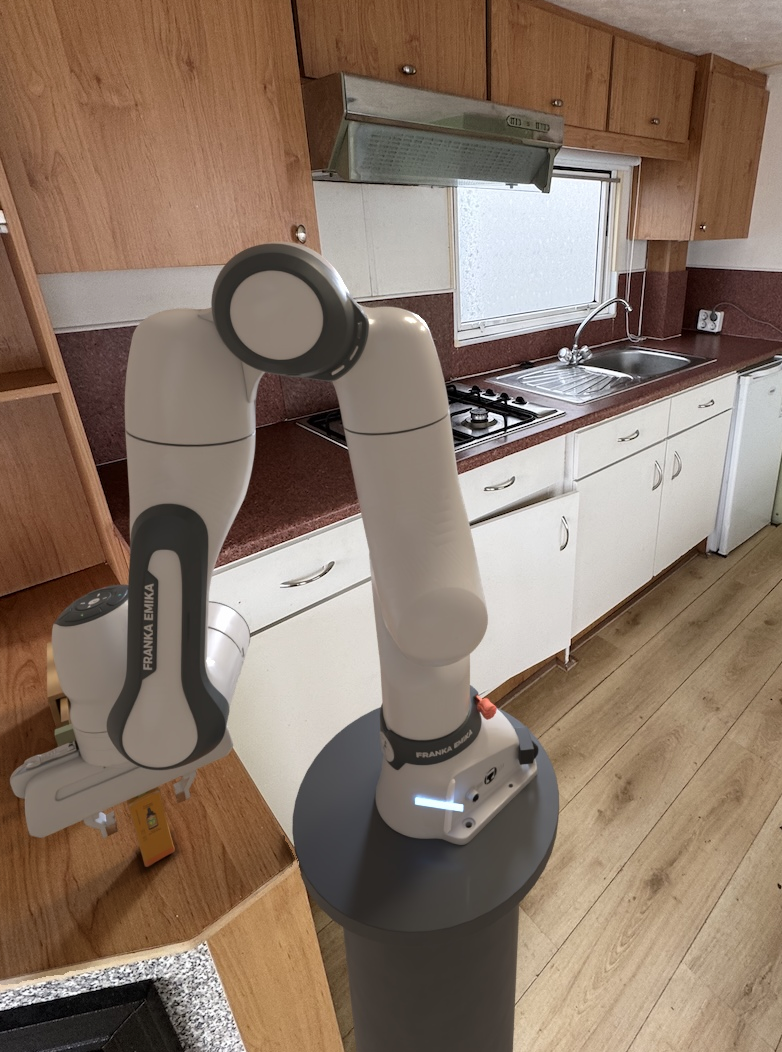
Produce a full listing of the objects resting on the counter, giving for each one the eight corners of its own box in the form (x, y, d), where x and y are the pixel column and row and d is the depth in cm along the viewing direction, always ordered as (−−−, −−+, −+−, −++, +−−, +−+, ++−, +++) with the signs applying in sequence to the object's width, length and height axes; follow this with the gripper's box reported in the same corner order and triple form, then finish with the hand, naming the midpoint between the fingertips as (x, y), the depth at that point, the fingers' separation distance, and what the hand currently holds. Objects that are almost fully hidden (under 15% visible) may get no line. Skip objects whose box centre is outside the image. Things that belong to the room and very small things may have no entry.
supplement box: (169, 832, 73) (155, 772, 70) (175, 852, 71) (161, 791, 68) (139, 848, 71) (123, 787, 68) (144, 869, 69) (128, 807, 66)
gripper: (3, 790, 56) (38, 888, 61) (227, 701, 68) (243, 789, 72) (6, 747, 61) (38, 841, 66) (215, 671, 72) (230, 756, 77)
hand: (147, 813), depth 69 cm, fingers open, 6 cm apart
